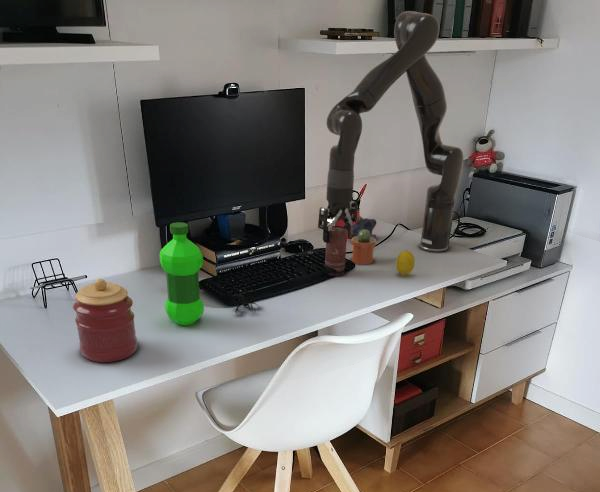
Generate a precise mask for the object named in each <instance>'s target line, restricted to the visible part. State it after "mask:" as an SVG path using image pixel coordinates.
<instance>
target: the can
mask: <svg viewBox="0 0 600 492" xmlns="http://www.w3.org/2000/svg"><path fill="white" fill-rule="evenodd" d="M330 231H331V239H330V243H325V254H324V255H325V256H324V258H325V259H324V266H325V265H326V266H328V267H330V268H333V269H335V270H336V271H337V272H341V273H339V274H333V273H329V274H326V276H329V277H341V276H343V275H344V273H345V271H344V269H346V255H347V243H348V239H349V238H348V230H347V229H346V228H345V227H344V226H341V225H333V226H332V228H331V230H330ZM342 271H344V272H343V273H342Z"/></svg>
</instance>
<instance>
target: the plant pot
mask: <svg viewBox="0 0 600 492" xmlns="http://www.w3.org/2000/svg"><path fill="white" fill-rule="evenodd" d="M351 245H352V257H351V262H353V263H354V264H357V265H370V264H372V263H373V262H374V250H375V249H374V248H375V247H376V245H377V238H376V239H375V238H372V237H371V234H370V232H369V231H368V230H365V229H364V230H361V231H360V232H359V234H358V236H356V237H351Z"/></svg>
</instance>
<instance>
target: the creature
mask: <svg viewBox="0 0 600 492" xmlns="http://www.w3.org/2000/svg"><path fill="white" fill-rule="evenodd" d="M246 289H247V288H246V287H245V288H244V290H243V291H242V292H241V293H240V294H239V295H237V297H235V296H234V295H233V294H231V293H230V292H229V293H227V294H228V295H230V296H231V298H232V299H233V300H234V301H235V302H236V308H235V314H236V315H237V316H239V317H242V315H243V314H244V311H241V312H240V311H239V308H240V307H241V306H243V307H244V308H248V310H249V311H251V312H252V313H254V312H255V313H257V312H256V310H260V308H258V309H256V308H254V307H253V304H254V305H256V306H258V303H256V302H253V301H252V299H251V298H252V296H251V295H250V296H249V295H247V296H246V297H245V296H243V294H244V293H245V291H246ZM246 298H248V299H246ZM247 300H248V301H247ZM237 311H238V312H240V313H241V314H238V313H237Z"/></svg>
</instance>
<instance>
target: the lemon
mask: <svg viewBox="0 0 600 492" xmlns="http://www.w3.org/2000/svg"><path fill="white" fill-rule="evenodd" d="M395 268H396V270H397V272H398V273H400V274H401V275H402V276H407V275H408V274H410V273H411V272H412V271H413V270H414V268H415V256H414V255H413V253H412V252H411V251H409V250H407V249H406V250H403V251H401V252H399V254H398V255H397V258H396V260H395Z"/></svg>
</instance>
